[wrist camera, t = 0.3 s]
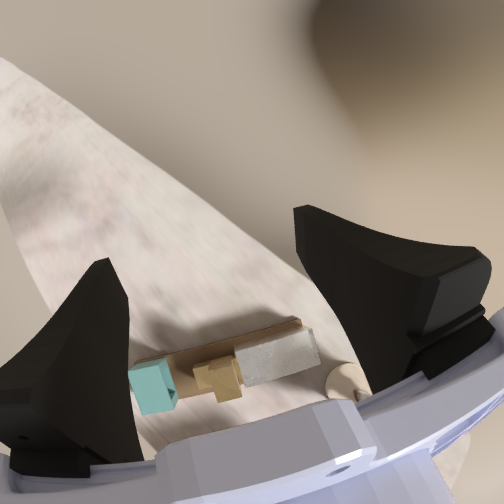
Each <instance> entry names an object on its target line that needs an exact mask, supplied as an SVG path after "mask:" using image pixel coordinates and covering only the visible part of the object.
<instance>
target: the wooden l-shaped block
mask: <svg viewBox="0 0 504 504" xmlns="http://www.w3.org/2000/svg"><path fill="white" fill-rule="evenodd" d="M193 372H194V375H195V378H196V382H197V385H198V388H199V390H200V389H204V388H208V387H213V389H214V393H215V396H216V398H217V401H218V403H220V402H224V401H228V400H232V399H236V398H240V397H242V393H241V387H240V383H239V380H240V379H243V378H242V375H241V371H240V368H239V365H238V362H237V358H236V355H235V354H233V355H229V356H225V357H221V358H218V359H214V360H210V361H206V362H202V363H198V364H194V367H193Z"/></svg>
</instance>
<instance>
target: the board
mask: <svg viewBox="0 0 504 504" xmlns="http://www.w3.org/2000/svg"><path fill="white" fill-rule="evenodd" d="M301 325H302V322H301V319H296V320H293V321H289V322H286V323H283V324H279V325H276V326H273V327H269V328H266V329H263V330H259V331H256V332H252V333H249V334H245V335H242V336H238V337H234V338H231V339H227V340H223V341H219V342H216V343H212V344H208V345H204V346H200V347H196V348H192V349H188V350H184V351H179V352H175V353H171V354H167V355H162V356H158V357H153V358H149V359H144V360H139V361H136V362H134V364H135V365H136V364H138V363H143V362H147V361H152V360H156V359H161V358H166V361H167V364H168V367H169V370H170V373H171V376H172V379H173V382H174V385H175V388H176V391H177V394H178V397H179V399H182V398H187V397H192V396H196V395H201V394H205V393H209V392H213V391H214V389H213V387H208V388H204V389H200V390H199V388H198V385H197V382H196V378H195V375H194V372H193V367H194V364H198V363H202V362H206V361H210V360H214V359H218V358H221V357H225V356H229V355H233V354H235V351H234V346H233V345H237V344H240V343H244V342H248V341H251V340H255V339H258V338H262V337H265V336H268V335H272V334H275V333H278V332H282V331H285V330H288V329H291V328H295V327H298V326H301ZM239 383H240V385H241V384H244V381H243V379H240V380H239Z"/></svg>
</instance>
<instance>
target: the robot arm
mask: <svg viewBox="0 0 504 504" xmlns="http://www.w3.org/2000/svg"><path fill="white" fill-rule="evenodd" d="M293 211H294V224H295V236H296V237H295V238H296V252H297V254H298V256H299V258H300V260H301V262H302V264H303V266H304V268H305V270H306V272H307V273H308V275H309V276H310V278H311V279H312V281H313V282H314V284H315V285H316V287H317V288H318V289H319V291H320V292H321V294H322V295H323V297H324V298H325V299H326V301H327V302H328V304H329V305H330V307H331V308H332V310H333V311H334V313H335V314H336V316H337V318H338V319H339V321H340V323H341V325H342V327H343V329H344V331H345V333H346V335H347V337H348V339H349V341H350V343H351V345H352V347H353V349H354V351H355V354H356V356H357V358H358V360H359V362H360V365H361V367H362V370H363V372H364V374H365V377H366V379H367V382H368V384H369V387H370V390H371V392H372V396H370V397H368V398H366V399H363V400H361V401H359V402H357V403H353V401H352V400H347V399H336V398H330V399H327V400H323V401H319V402H315V403H311V404H307V405H305V406H302V407H299V408H296V409H293V410H290V411H287V412H284V413H281V414H278V415H275V416H271V417H268V418H265V419H261V420H258V421H254V422H251V423H247V424H244V425H240V426H236V427H232V428H228V429H224V430H220V431H216V432H212V433H207V434H203V435H198V436H193V437H189V438H186V439H183V440H179V441H176V442H173V443H169V444H168V445H167V446H165V447H164V448H163V449H162V450H161V451H159V452H158V453H157V454H156V455H155V460H148V461H144V457H143V454H142V450H141V447H140V443H139V439H138V435H137V430H136V426H135V421H134V415H133V410H132V404H131V397H130V389H129V380H128V347H129V323H130V318H129V304H128V297H127V295H126V293H125V291H124V289H123V287H122V285H121V283H120V280H119V278H118V276H117V274H116V272H115V270H114V268H113V266H112V264H111V261H110V259H109V257H108V258H105V259H101V260H98V261H95V262H94V263H93V264H92V265H91V266H90V267H89V268H88V270H87V271H86V272H85V274H84V275H83V276H82V278H81V279H80V280H79V282H78V283H77V285H76V286H75V287H74V289H73V290H72V291H71V293H70V294H69V296H68V297H67V298H66V300H65V301H64V302H63V303H62V305H61V306H60V307H59V309H58V310H57V311H56V313H55V314H54V315H53V317H52V318H51V319H50V320H49V321H48V322H47V324H46V325H45V326H44V327H43V328H42V329H41V330H40V331H39V333H38V334H37V335H36V336H35V337H34V338H33V339H32V340H31V341H30V342H29V343H28V344H27V345H26V346H25V347H24V348H23V349H22V350H21V351H20V352H18V353H17V354H16V355H15V356H14V357H13V358H12V359H11V360H9V361H8V362H7V363H6V364H4V365H3V366H2V367H1V368H0V442H2V443H3V444H5V445H6V446H8V447H9V448H11V453H10V456H8V455H5V454H2V453H0V504H457V502H456V500H455V498H454V497H453V495H452V493H451V491H450V489H449V487H448V486H447V484H446V482H445V480H444V478H443V477H442V475H441V473H440V471H439V469H438V468H437V466H436V464H435V462H434V461H433V459H432V458H433V457H434V456H436V455H437V454H439V453H440V452H441V451H443V450H444V449H446V448H447V447H449V446H450V445H451V444H453V443H454V442H455V441H457V440H458V439H459V438H461V437H462V436H463V435H465V434H466V433H467V432H469V431H470V430H471V429H472V428H474V427H475V426H476V425H477V424H478V423H480V422H481V421H482V420H483V419H485V418H486V417H487V416H488V415H489V414H490V413H492V412H493V411H494V410H495V409H496V408H497V407H498V406H499V405H501V404H502V403H503V402H504V307H503V308H502V309H500V310H499V311H497V312H496V313H495V314H494V315H492V317H491V318H490V319H489V320H487V319H486V318H485V317H484V316H483V314H485V308H484V307H483V306H482V305H481V304H480V302H481V300H482V297H483V295H484V293H485V290H486V288H487V285H488V283H489V280H490V276H491V270H492V267H491V262H490V260H489V259H488V258H487V257H486V256H484V255H483V254H482V253H481V252H480V251H479V250H477V249H476V248H475V247H470V246H448V245H439V244H431V243H424V242H418V241H413V240H408V239H404V238H399V237H395V236H392V235H388V234H385V233H381V232H378V231H374V230H372V229H369V228H366V227H364V226H361V225H358V224H355V223H353V222H350V221H348V220H345V219H343V218H341V217H338V216H336V215H334V214H331V213H329V212H326V211H324V210H322V209H319V208H317V207H314V206H310V205H305V206H300V207H296V208H293Z"/></svg>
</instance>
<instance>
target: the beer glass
mask: <svg viewBox="0 0 504 504" xmlns="http://www.w3.org/2000/svg"><path fill="white" fill-rule="evenodd" d="M325 391H326V394H327V396H328V398H329V399H330V398H336V399H347V400H352V401H353V403H357V402H359V401H361V400H363V399H366V398H368V397H370V396H372V392H371V390H370V387H369V384H368V382H367V379H366V377H365V374H364V372H363V370H362V368H361V367H359V366H358V365H356V364H353V363H345V364H341V365H339V366H337V367H336V368H334V369H333V370H332V371H331V372H330V374H329V375H328V377H327V379H326V383H325Z"/></svg>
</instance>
